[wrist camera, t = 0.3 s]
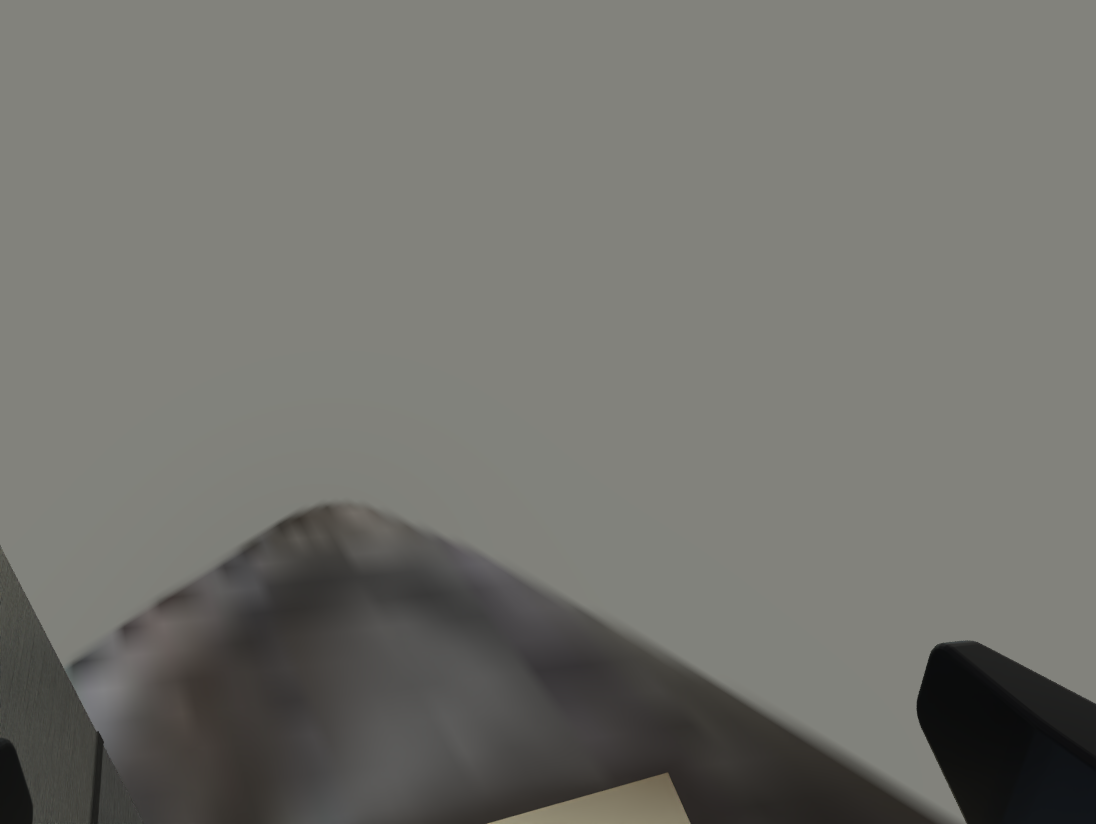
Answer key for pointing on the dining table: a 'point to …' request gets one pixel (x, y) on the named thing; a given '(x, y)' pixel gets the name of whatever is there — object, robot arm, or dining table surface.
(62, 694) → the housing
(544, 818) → the stand
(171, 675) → the dining table surface
